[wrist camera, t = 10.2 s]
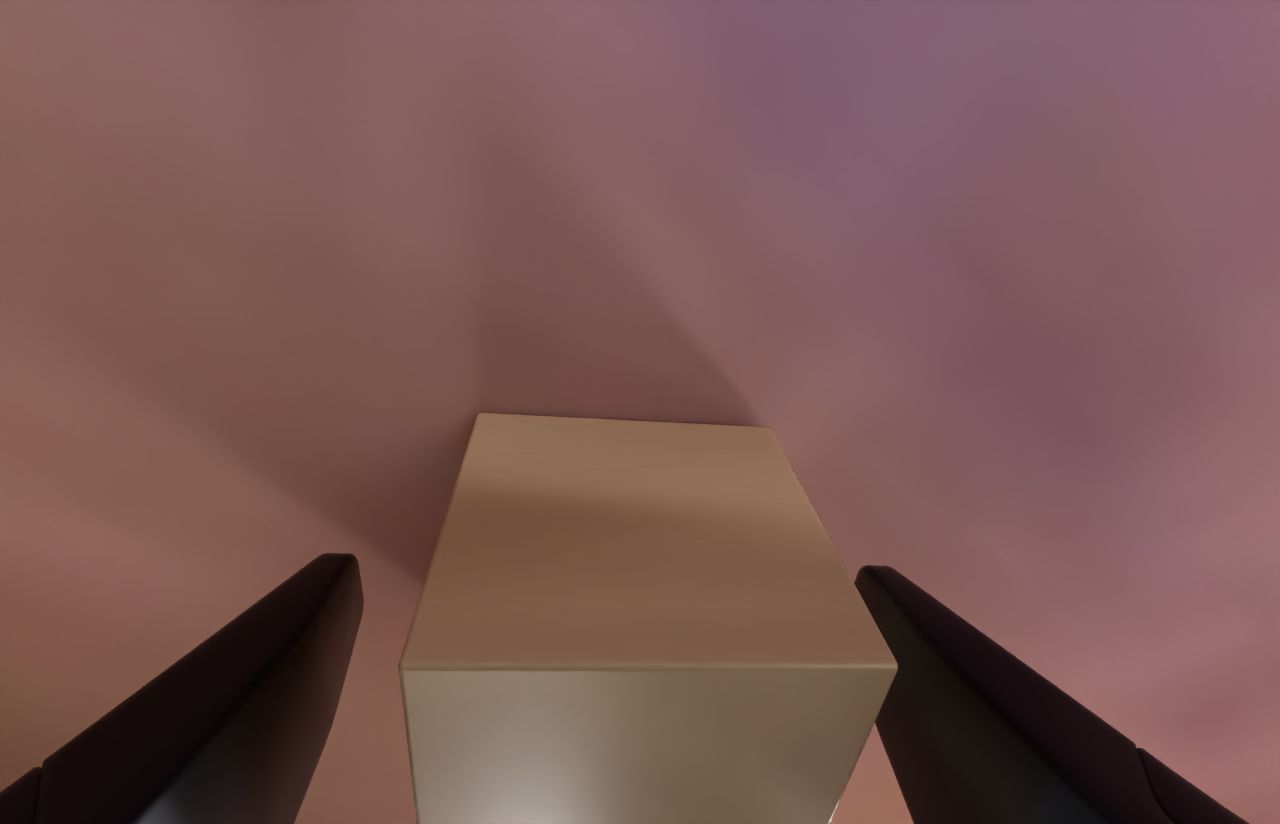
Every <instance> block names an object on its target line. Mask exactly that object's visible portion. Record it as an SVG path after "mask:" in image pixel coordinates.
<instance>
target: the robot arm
mask: <svg viewBox="0 0 1280 824" xmlns="http://www.w3.org/2000/svg"><path fill="white" fill-rule="evenodd" d="M854 584H855V586H856V588H857V590H858V592H859V593H860V595H861V597H862V599H863V601H864V603H865V605H866V606H867V608H868V610H869V612H870V614H871V616H872V617H873V619H874V621H875V623H876V625H877V627H878V629H879V630H880V632H881V634H882V636H883V638H884V640H885V641H886V643H887V645H888V647H889V649H890V651H891V653H892V654H893V656H894V658H895V660H896V662H897V665H898V670H897V673H896V675H895V677H894V679H893V682H892V684H891V686H890V688H889V691H888V693H887V695H886V697H885V700H884V702H883V704H882V706H881V709H880V711H879V713H878V716H877V718H876V720H875V723H876V726H877V729H878V732H879V734H880V737H881V740H882V742H883V745H884V748H885V750H886V753H887V755H888V758H889V760H890V763H891V766H892V768H893V771H894V773H895V776H896V778H897V781H898V784H899V786H900V789H901V791H902V794H903V796H904V799H905V802H906V804H907V807H908V809H909V812H910V815H911V817H912V820H913V822H914V824H1249V823H1247V822H1246V821H1244V820H1243V819H1241V818H1240V817H1238V816H1237V815H1235V814H1234V813H1232V812H1231V811H1229V810H1228V809H1227V808H1225V807H1224V806H1222V805H1221V804H1219V803H1218V802H1217V801H1215V800H1214V799H1212V798H1211V797H1210V796H1208V795H1207V794H1205V793H1204V792H1202V791H1201V790H1200V789H1198V788H1197V787H1195V786H1194V785H1192V784H1191V783H1190V782H1188V781H1187V780H1185V779H1184V778H1183V777H1181V776H1180V775H1178V774H1177V773H1175V772H1174V771H1173V770H1171V769H1170V768H1169V767H1167V766H1166V765H1164V764H1163V763H1162V762H1160V761H1159V760H1158V759H1156V758H1155V757H1153V756H1152V755H1151V754H1149V753H1148V752H1147V751H1145V750H1144V749H1142V748H1136V745H1135V744H1134V742H1132V741H1131V740H1130V739H1128V738H1127V737H1126V736H1124V735H1123V734H1121V733H1120V732H1119V731H1117V730H1116V729H1114V728H1113V727H1112V726H1110V725H1109V724H1108V723H1106V722H1105V721H1103V720H1102V719H1101V718H1099V717H1098V716H1096V715H1095V714H1094V713H1092V712H1091V711H1090V710H1088V709H1087V708H1085V707H1084V706H1083V705H1081V704H1080V703H1079V702H1077V701H1076V700H1074V699H1073V698H1072V697H1070V696H1069V695H1067V694H1066V693H1065V692H1063V691H1062V690H1061V689H1059V688H1058V687H1056V686H1055V685H1054V684H1052V683H1051V682H1049V681H1048V680H1047V679H1045V678H1044V677H1043V676H1041V675H1040V674H1038V673H1037V672H1036V671H1034V670H1033V669H1032V668H1030V667H1029V666H1027V665H1026V664H1025V663H1023V662H1022V661H1020V660H1019V659H1018V658H1016V657H1015V656H1014V655H1012V654H1011V653H1009V652H1008V651H1007V650H1005V649H1004V648H1002V647H1001V646H1000V645H998V644H997V643H996V642H994V641H993V640H991V639H990V638H989V637H987V636H986V635H985V634H983V633H982V632H980V631H979V630H978V629H976V628H975V627H973V626H972V625H971V624H969V623H968V622H967V621H965V620H964V619H962V618H961V617H960V616H958V615H957V614H955V613H954V612H953V611H951V610H950V609H949V608H947V607H946V606H944V605H943V604H942V603H940V602H939V601H937V600H936V599H935V598H933V597H932V596H931V595H929V594H928V593H926V592H925V591H924V590H922V589H921V588H920V587H918V586H917V585H915V584H914V583H913V582H911V581H910V580H908V579H907V578H906V577H904V576H903V575H902V574H900V573H899V572H897V571H896V570H895V569H893V568H891V567H889V566H871V565H867V566H863V567H862V568H861V569H860V570H859V572H858V574H857V577H856V579H855V582H854ZM363 605H364V598H363V591H362V584H361V577H360V570H359V564H358V560H357V558H356V556H354V555H353V554H342V553H326V554H322V555H320V556H319V557H317V558H316V559H314V560H313V561H312V562H310V563H309V564H308V565H306V566H305V567H304V568H302V569H301V570H300V571H298V572H297V573H296V574H294V575H293V576H291V577H290V578H289V579H287V580H286V581H285V582H283V583H282V584H281V585H279V586H278V587H277V588H275V589H274V590H273V591H271V592H270V593H269V594H267V595H266V596H265V597H263V598H262V599H261V600H259V601H258V602H256V603H255V604H254V605H252V606H251V607H250V608H248V609H247V610H246V611H244V612H243V613H242V614H240V615H239V616H238V617H236V618H235V619H234V620H232V621H231V622H230V623H228V624H227V625H226V626H224V627H223V628H221V629H220V630H219V631H217V632H216V633H215V634H213V635H212V636H211V637H209V638H208V639H207V640H205V641H204V642H203V643H201V644H200V645H199V646H197V647H196V648H195V649H193V650H192V651H191V652H189V653H188V654H187V655H185V656H184V657H182V658H181V659H180V660H178V661H177V662H176V663H174V664H173V665H172V666H170V667H169V668H168V669H166V670H165V671H164V672H162V673H161V674H160V675H158V676H157V677H156V678H154V679H153V680H152V681H150V682H149V683H147V684H146V685H145V686H143V687H142V688H141V689H139V690H138V691H137V692H135V693H134V694H133V695H131V696H130V697H129V698H127V699H126V700H125V701H123V702H122V703H121V704H119V705H118V706H117V707H115V708H114V709H112V710H111V711H110V712H108V713H107V714H106V715H104V716H103V717H102V718H100V719H99V720H98V721H96V722H95V723H94V724H92V725H91V726H90V727H88V728H87V729H86V730H84V731H83V732H82V733H80V734H79V735H77V736H76V737H75V738H73V739H72V740H71V741H69V742H68V743H67V744H65V745H64V746H63V747H61V748H60V749H59V750H57V751H56V752H55V753H53V754H52V755H51V756H49V757H48V758H47V759H45V760H44V762H43V764H42V768H41V767H35V768H33V769H31V770H30V771H29V772H27V773H26V774H25V775H23V776H22V777H21V778H19V779H18V780H16V781H15V782H14V783H12V784H11V785H10V786H8V787H7V788H6V789H4V790H3V791H2V792H0V824H294V822H295V820H296V817H297V814H298V812H299V809H300V807H301V804H302V802H303V799H304V797H305V794H306V792H307V789H308V787H309V784H310V781H311V779H312V776H313V774H314V771H315V769H316V766H317V764H318V761H319V759H320V756H321V753H322V751H323V748H324V746H325V743H326V740H327V738H328V735H329V732H330V729H331V727H332V723H333V720H334V717H335V713H336V710H337V706H338V703H339V699H340V695H341V692H342V688H343V684H344V681H345V677H346V673H347V669H348V666H349V662H350V658H351V655H352V651H353V647H354V644H355V640H356V636H357V632H358V629H359V625H360V621H361V618H362V613H363Z"/></svg>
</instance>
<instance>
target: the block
mask: <svg viewBox="0 0 1280 824" xmlns="http://www.w3.org/2000/svg"><path fill="white" fill-rule="evenodd" d="M398 666H399V675H400V683H401V692H402V700H403V708H404V717H405V725H406V734H407V742H408V750H409V759H410V767H411V775H412V784H413V792H414V801H415V809H416V817H417V824H830V822H831V820H832V817H833V815H834V813H835V811H836V808H837V806H838V804H839V801H840V799H841V797H842V795H843V792H844V790H845V788H846V786H847V783H848V781H849V779H850V777H851V774H852V772H853V770H854V768H855V765H856V763H857V761H858V759H859V756H860V754H861V752H862V749H863V747H864V745H865V743H866V740H867V738H868V736H869V734H870V731H871V729H872V727H873V725H874V722H875V720H876V718H877V716H878V713H879V711H880V709H881V706H882V704H883V702H884V700H885V697H886V695H887V693H888V691H889V688H890V686H891V684H892V682H893V679H894V677H895V675H896V673H897V670H898V665H897V662H896V660H895V658H894V656H893V654H892V653H891V651H890V649H889V647H888V645H887V643H886V641H885V640H884V638H883V636H882V634H881V632H880V630H879V629H878V627H877V625H876V623H875V621H874V619H873V617H872V616H871V614H870V612H869V610H868V608H867V606H866V605H865V603H864V601H863V599H862V597H861V595H860V593H859V592H858V590H857V588H856V586H855V584H854V582H853V581H852V579H851V577H850V575H849V573H848V571H847V570H846V568H845V566H844V564H843V562H842V560H841V558H840V557H839V555H838V553H837V551H836V549H835V547H834V546H833V544H832V542H831V540H830V538H829V536H828V534H827V533H826V531H825V529H824V527H823V525H822V523H821V522H820V520H819V518H818V516H817V514H816V512H815V510H814V509H813V507H812V505H811V503H810V501H809V499H808V498H807V496H806V494H805V492H804V490H803V488H802V487H801V485H800V483H799V481H798V479H797V477H796V475H795V474H794V472H793V470H792V468H791V466H790V464H789V463H788V461H787V459H786V457H785V455H784V453H783V451H782V450H781V448H780V446H779V444H778V442H777V440H776V439H775V437H774V435H773V433H772V431H771V429H770V428H768V427H753V426H733V425H713V424H693V423H674V422H654V421H634V420H614V419H594V418H575V417H555V416H535V415H515V414H495V413H479V414H478V415H477V417H476V420H475V424H474V427H473V430H472V433H471V436H470V439H469V443H468V446H467V449H466V452H465V455H464V459H463V462H462V465H461V468H460V471H459V474H458V478H457V481H456V484H455V487H454V490H453V493H452V497H451V500H450V503H449V506H448V509H447V513H446V516H445V519H444V522H443V525H442V528H441V532H440V535H439V538H438V541H437V544H436V547H435V551H434V554H433V557H432V560H431V563H430V567H429V570H428V573H427V576H426V579H425V582H424V586H423V589H422V592H421V595H420V598H419V602H418V605H417V608H416V611H415V614H414V617H413V621H412V624H411V627H410V630H409V633H408V636H407V640H406V643H405V646H404V649H403V652H402V656H401V659H400V662H399V665H398Z"/></svg>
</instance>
